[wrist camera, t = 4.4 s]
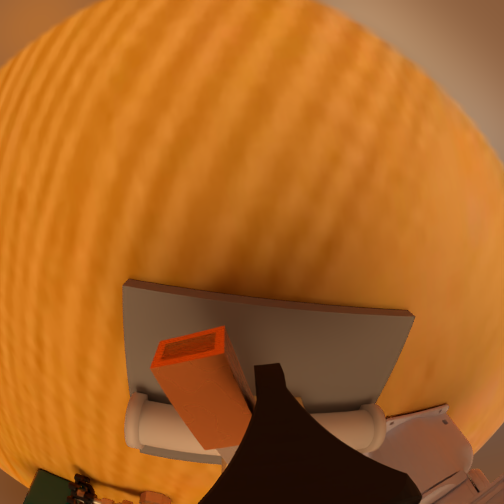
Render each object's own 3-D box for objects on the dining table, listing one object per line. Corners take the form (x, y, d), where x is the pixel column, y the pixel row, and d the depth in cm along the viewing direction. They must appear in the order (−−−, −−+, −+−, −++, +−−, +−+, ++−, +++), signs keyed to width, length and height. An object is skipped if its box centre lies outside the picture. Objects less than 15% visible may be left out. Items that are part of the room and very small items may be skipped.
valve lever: (292, 475, 13) (297, 499, 11) (251, 484, 13) (254, 508, 11) (227, 319, 9) (227, 352, 8) (159, 336, 9) (147, 368, 8)
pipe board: (407, 310, 17) (454, 350, 12) (336, 452, 21) (351, 494, 15) (128, 278, 15) (88, 324, 9) (142, 444, 19) (131, 491, 13)
